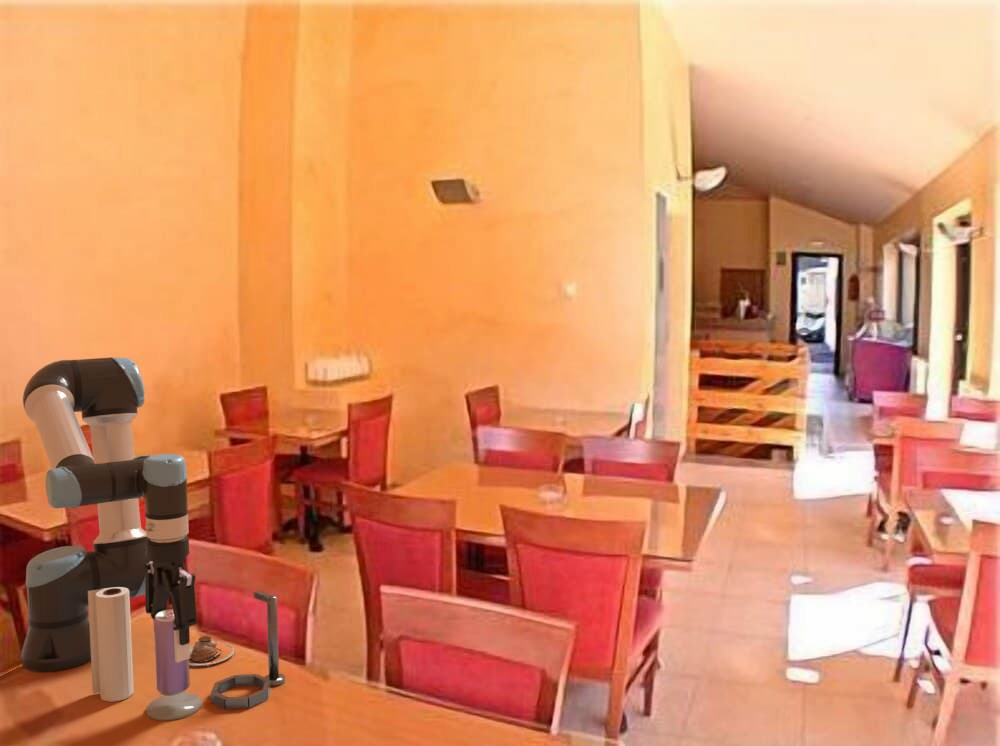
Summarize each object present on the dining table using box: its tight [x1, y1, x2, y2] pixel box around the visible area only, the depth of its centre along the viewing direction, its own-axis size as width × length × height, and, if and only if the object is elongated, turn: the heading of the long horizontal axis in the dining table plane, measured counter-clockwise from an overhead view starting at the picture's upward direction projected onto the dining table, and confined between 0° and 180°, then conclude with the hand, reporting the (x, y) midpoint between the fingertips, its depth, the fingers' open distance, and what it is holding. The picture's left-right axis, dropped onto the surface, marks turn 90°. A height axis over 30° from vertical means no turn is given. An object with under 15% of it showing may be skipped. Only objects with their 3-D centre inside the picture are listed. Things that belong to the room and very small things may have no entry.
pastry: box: [189, 635, 235, 668], centre depth 199 cm, size 12×12×5 cm
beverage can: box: [153, 608, 191, 696], centre depth 174 cm, size 6×6×15 cm
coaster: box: [145, 692, 203, 721], centre depth 175 cm, size 10×10×1 cm
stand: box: [210, 590, 286, 710], centre depth 181 cm, size 11×16×18 cm
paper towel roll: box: [88, 587, 134, 703], centre depth 180 cm, size 7×6×21 cm
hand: (172, 655), depth 174 cm, fingers closed on beverage can, 6 cm apart
